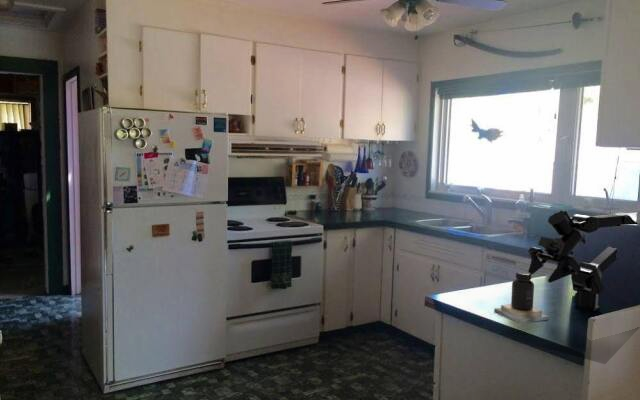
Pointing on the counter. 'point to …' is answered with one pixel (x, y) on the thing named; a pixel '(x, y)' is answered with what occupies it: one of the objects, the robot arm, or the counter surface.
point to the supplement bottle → (522, 292)
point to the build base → (520, 320)
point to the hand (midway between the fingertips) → (538, 278)
